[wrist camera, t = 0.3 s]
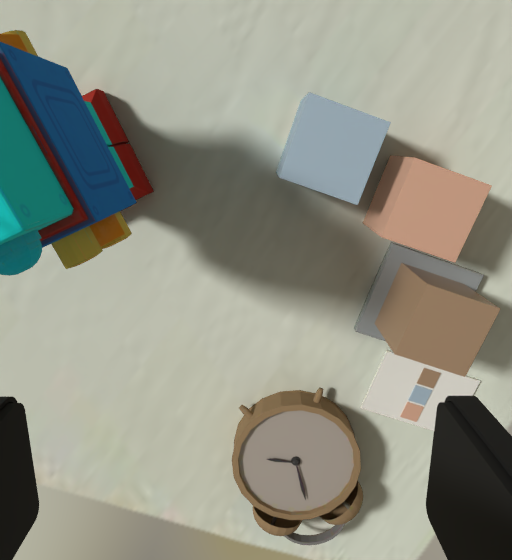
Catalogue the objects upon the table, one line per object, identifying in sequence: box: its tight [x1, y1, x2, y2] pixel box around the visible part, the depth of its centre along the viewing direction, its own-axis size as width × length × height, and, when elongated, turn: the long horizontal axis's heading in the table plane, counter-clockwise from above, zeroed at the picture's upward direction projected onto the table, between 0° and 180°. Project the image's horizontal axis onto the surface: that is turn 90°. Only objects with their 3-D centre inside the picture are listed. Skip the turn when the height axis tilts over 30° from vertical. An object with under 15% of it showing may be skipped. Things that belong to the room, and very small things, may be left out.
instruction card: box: [361, 350, 480, 431], centre depth 42 cm, size 6×9×1 cm, turn 71°
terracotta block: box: [363, 155, 492, 262], centre depth 34 cm, size 6×6×6 cm
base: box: [354, 242, 500, 377], centre depth 36 cm, size 8×8×7 cm
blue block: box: [276, 92, 391, 205], centre depth 33 cm, size 6×6×6 cm
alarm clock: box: [232, 388, 363, 545], centre depth 42 cm, size 11×5×15 cm
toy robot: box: [0, 30, 154, 275], centre depth 24 cm, size 12×6×25 cm, turn 24°
